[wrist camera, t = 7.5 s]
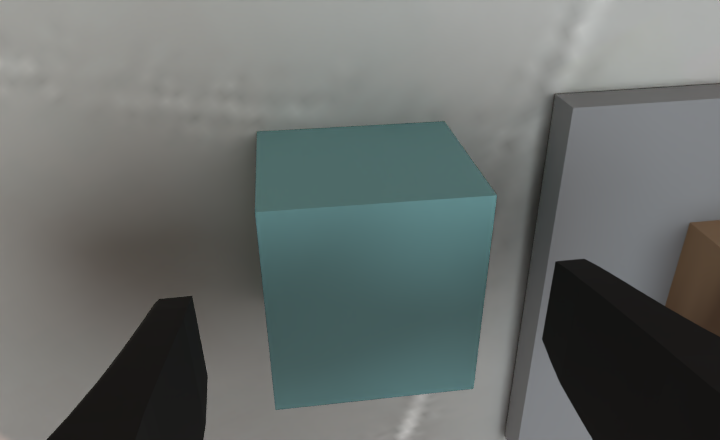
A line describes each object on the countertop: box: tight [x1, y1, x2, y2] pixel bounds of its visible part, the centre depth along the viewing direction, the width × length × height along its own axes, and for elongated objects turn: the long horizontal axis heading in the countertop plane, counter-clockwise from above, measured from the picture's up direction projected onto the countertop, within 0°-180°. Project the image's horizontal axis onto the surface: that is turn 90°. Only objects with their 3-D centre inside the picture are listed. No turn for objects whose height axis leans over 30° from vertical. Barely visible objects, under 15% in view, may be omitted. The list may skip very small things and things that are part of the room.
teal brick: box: [255, 121, 497, 410], centre depth 14 cm, size 5×4×4 cm
